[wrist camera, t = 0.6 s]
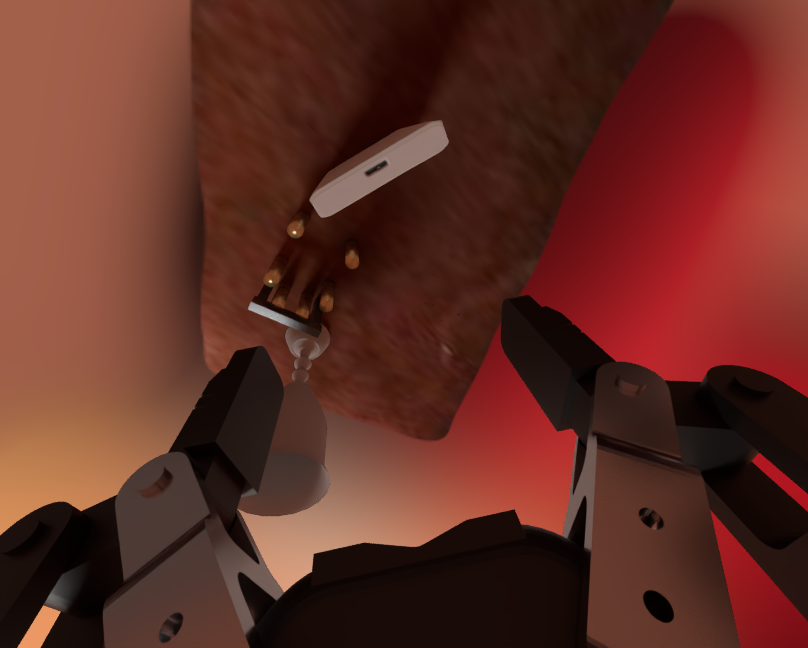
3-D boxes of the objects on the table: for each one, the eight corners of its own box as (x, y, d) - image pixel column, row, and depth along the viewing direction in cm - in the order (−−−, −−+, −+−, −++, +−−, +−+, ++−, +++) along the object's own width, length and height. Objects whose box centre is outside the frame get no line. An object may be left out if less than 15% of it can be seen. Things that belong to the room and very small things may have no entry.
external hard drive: (322, 174, 27) (305, 196, 16) (403, 125, 26) (440, 115, 15) (332, 191, 28) (323, 222, 17) (411, 144, 27) (452, 148, 16)
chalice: (324, 368, 38) (308, 520, 23) (269, 352, 35) (210, 511, 20) (347, 323, 35) (346, 462, 20) (288, 302, 33) (237, 443, 17)
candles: (299, 208, 28) (288, 223, 23) (359, 243, 30) (362, 265, 25) (264, 282, 31) (247, 310, 26) (321, 308, 34) (316, 339, 28)
